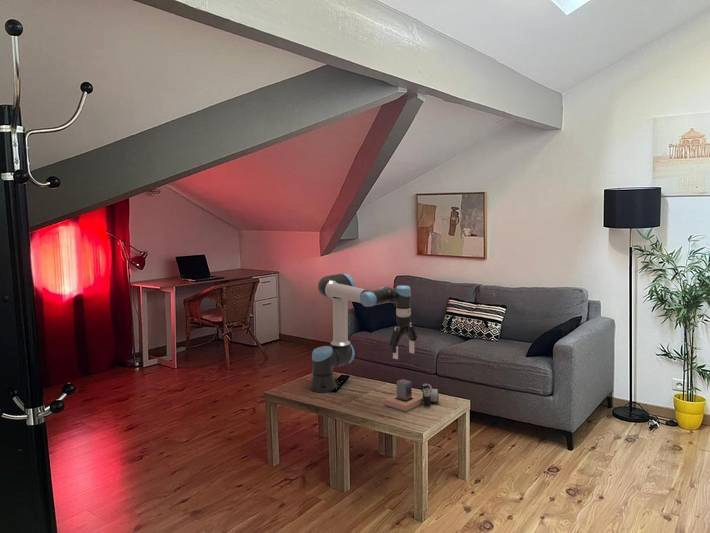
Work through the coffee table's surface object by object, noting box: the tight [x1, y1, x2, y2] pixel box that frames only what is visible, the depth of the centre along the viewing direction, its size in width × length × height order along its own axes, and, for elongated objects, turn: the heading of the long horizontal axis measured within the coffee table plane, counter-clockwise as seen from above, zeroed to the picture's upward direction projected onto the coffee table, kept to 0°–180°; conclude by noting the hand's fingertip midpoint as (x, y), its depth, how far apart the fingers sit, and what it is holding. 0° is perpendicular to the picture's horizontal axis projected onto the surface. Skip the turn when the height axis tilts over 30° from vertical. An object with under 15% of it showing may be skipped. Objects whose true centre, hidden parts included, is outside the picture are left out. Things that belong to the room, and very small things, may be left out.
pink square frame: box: [384, 393, 424, 413], centre depth 305 cm, size 14×15×4 cm
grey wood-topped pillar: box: [396, 378, 413, 402], centre depth 304 cm, size 6×5×12 cm
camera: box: [420, 383, 440, 409], centre depth 307 cm, size 16×9×10 cm, turn 173°
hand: (403, 355), depth 301 cm, fingers open, 13 cm apart
